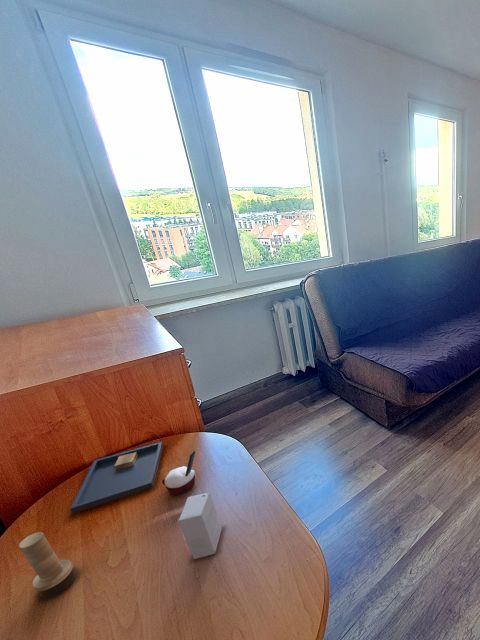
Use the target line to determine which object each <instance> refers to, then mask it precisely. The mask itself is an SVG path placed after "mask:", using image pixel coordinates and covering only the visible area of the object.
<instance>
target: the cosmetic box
mask: <svg viewBox="0 0 480 640" xmlns="http://www.w3.org/2000/svg"><path fill="white" fill-rule="evenodd" d="M178 523H179V526H180V528H181V531H182V534H183V537H184V538H185V541H186V543H187V547H188V548H189V551H190V553H191V555H192V558H193V560H196V559H201V558H203V557H207V556H208V557H209V556H212V555H215V554H216V552H217V549H218V548H217V547H218V544H219V540H220V537H221V533H222V529H223V528H222V525H221V523H220V520H219V517H218V514H217V511H216V508H215V505H214V503H213V499H212V496H211V493H210V492H209V491H208V492H204V493H200V494H195V495H191V496H187V498H186V501H185V503H184V505H183V509H182V511H181V514H180V516H179V519H178Z"/></svg>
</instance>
